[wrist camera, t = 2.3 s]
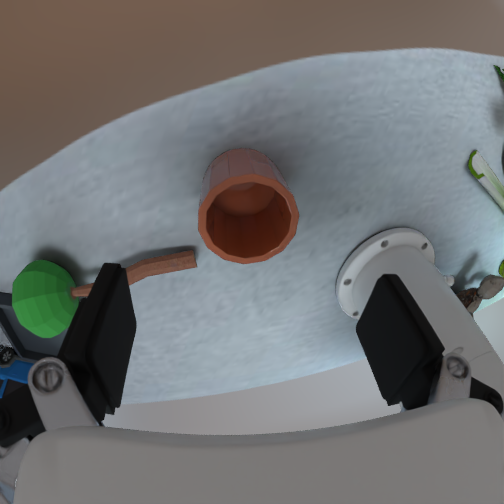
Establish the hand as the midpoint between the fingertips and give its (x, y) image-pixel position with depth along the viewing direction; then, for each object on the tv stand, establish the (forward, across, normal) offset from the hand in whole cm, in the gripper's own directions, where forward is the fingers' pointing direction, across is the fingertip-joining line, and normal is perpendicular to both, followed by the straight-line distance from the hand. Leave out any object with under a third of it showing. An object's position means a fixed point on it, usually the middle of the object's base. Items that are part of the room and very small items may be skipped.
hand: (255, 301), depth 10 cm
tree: (+15, +13, +10) cm, 22 cm away
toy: (+7, -30, +22) cm, 38 cm away
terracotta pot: (+15, 0, +1) cm, 15 cm away
